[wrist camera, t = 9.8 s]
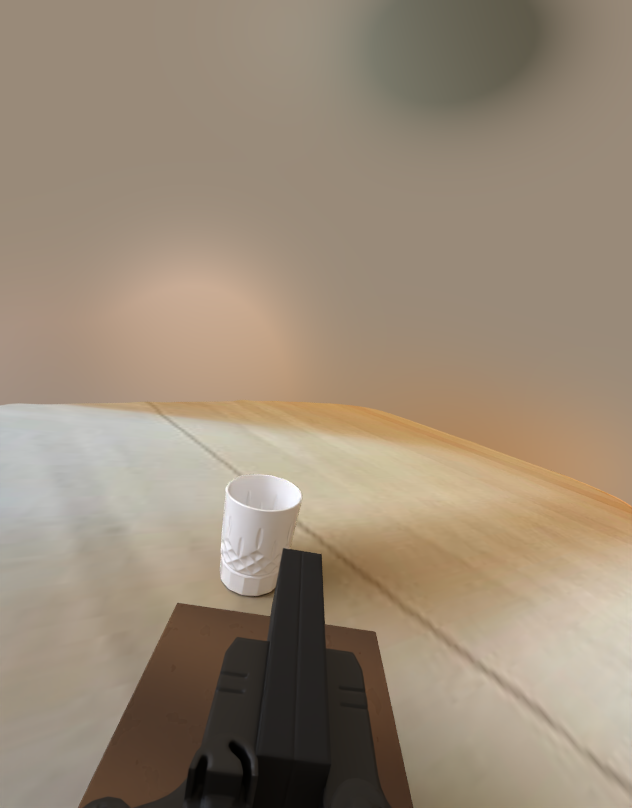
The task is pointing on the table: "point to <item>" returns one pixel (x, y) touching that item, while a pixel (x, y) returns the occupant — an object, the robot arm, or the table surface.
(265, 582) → the white cup
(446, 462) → the table surface
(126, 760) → the lid
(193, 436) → the table surface
